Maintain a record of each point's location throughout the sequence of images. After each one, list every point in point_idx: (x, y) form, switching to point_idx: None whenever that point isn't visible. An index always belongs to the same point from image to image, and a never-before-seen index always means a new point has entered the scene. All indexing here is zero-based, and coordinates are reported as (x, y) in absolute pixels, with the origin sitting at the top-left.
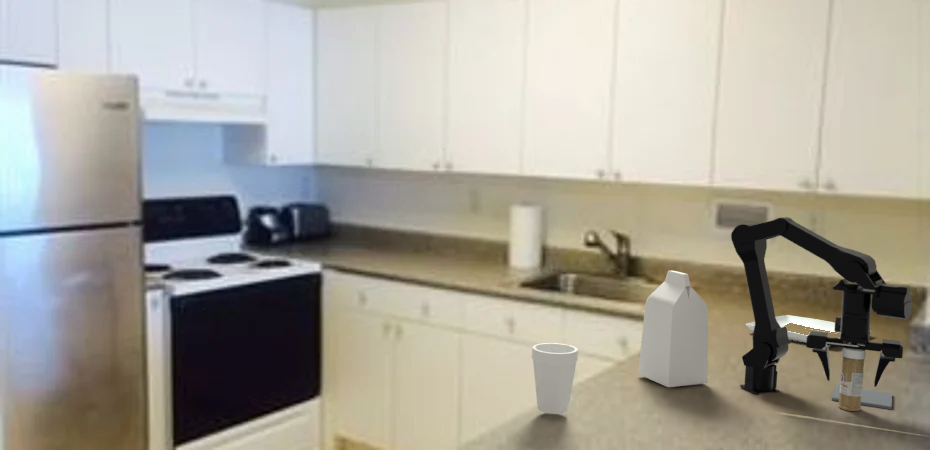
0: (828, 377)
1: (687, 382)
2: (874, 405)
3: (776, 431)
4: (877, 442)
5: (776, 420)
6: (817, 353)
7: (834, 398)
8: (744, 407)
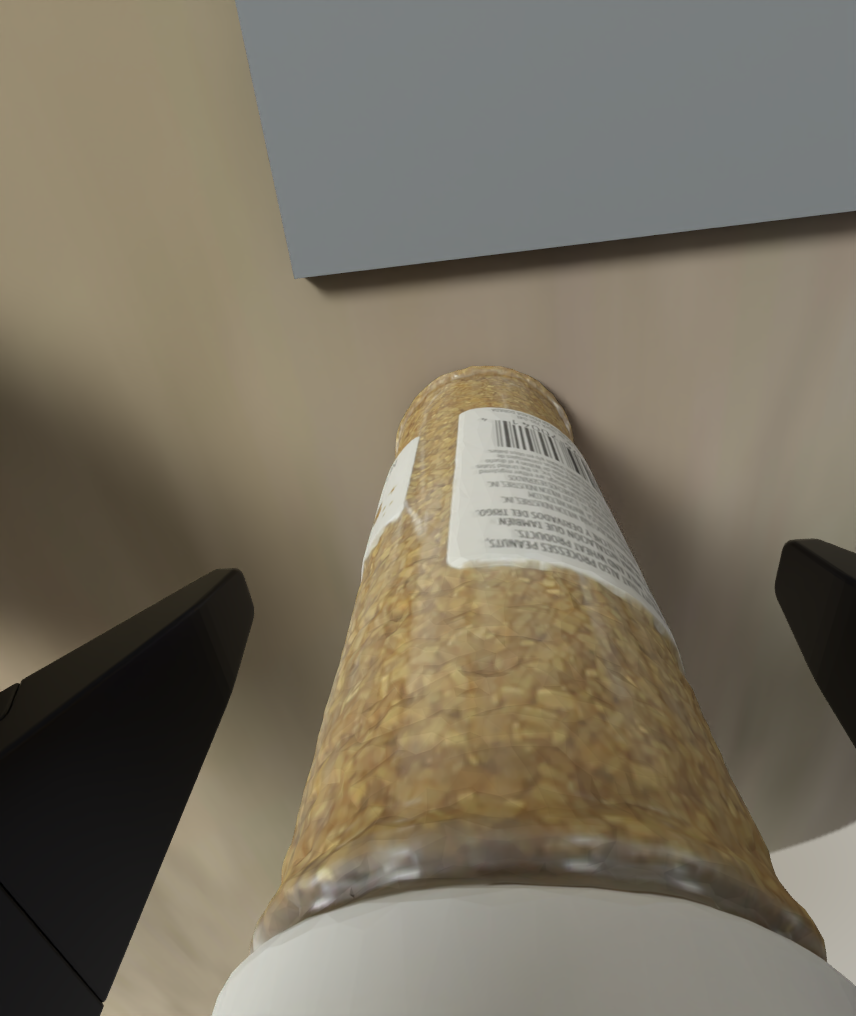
0: (232, 655)
1: None
2: (703, 225)
3: None
4: None
5: (216, 843)
6: None
7: (319, 273)
8: None
